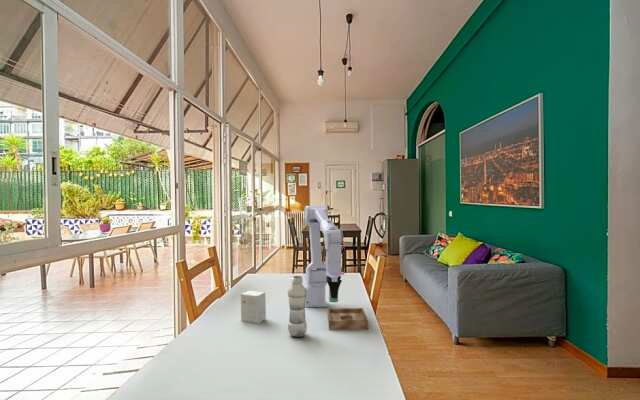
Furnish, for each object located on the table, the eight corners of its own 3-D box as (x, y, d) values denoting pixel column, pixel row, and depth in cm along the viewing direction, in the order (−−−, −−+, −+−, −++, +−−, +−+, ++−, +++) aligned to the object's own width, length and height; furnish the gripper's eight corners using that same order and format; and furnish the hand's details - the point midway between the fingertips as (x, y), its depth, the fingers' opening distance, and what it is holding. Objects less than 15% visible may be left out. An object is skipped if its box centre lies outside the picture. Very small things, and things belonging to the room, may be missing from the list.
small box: (266, 319, 135) (266, 292, 135) (257, 323, 130) (257, 295, 130) (249, 316, 138) (249, 290, 138) (240, 320, 133) (240, 293, 133)
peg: (329, 302, 130) (328, 286, 130) (329, 299, 133) (328, 284, 133) (338, 302, 130) (337, 286, 130) (338, 299, 133) (337, 284, 133)
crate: (328, 329, 123) (328, 320, 123) (327, 316, 137) (327, 308, 137) (367, 329, 124) (367, 320, 124) (362, 316, 138) (362, 308, 138)
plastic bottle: (292, 340, 114) (292, 280, 114) (285, 333, 120) (284, 276, 120) (310, 336, 117) (309, 277, 117) (302, 330, 123) (301, 274, 123)
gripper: (345, 264, 125) (345, 301, 124) (342, 257, 139) (343, 291, 139) (326, 264, 125) (326, 302, 124) (325, 258, 139) (325, 291, 139)
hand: (334, 296), depth 132 cm, fingers closed on peg, 3 cm apart
